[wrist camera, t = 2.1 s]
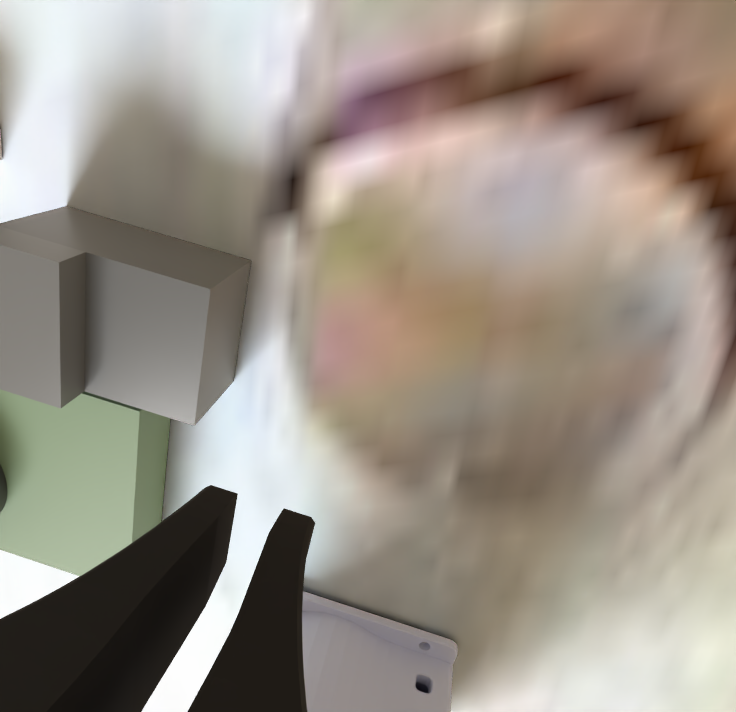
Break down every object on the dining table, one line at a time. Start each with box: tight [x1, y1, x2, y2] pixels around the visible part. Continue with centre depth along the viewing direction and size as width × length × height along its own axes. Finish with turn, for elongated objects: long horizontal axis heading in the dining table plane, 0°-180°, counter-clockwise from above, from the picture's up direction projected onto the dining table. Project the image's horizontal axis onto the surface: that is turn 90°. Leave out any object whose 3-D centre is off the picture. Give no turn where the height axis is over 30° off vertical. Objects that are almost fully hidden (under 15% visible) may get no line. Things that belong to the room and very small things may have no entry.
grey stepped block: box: [0, 206, 251, 426], centre depth 19 cm, size 7×5×5 cm
